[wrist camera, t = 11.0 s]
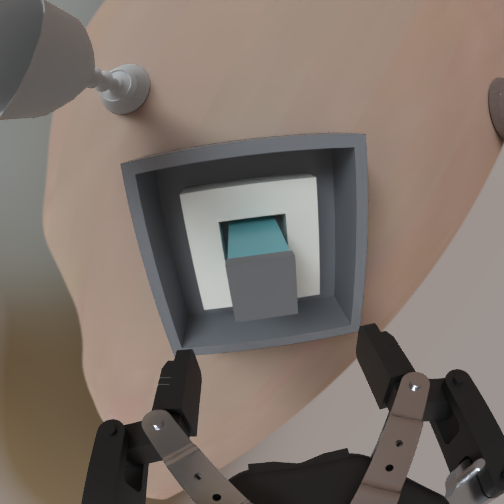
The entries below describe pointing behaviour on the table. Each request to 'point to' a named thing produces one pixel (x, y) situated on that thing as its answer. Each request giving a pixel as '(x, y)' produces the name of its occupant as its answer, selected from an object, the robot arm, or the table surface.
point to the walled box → (248, 206)
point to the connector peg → (260, 270)
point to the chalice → (56, 64)
